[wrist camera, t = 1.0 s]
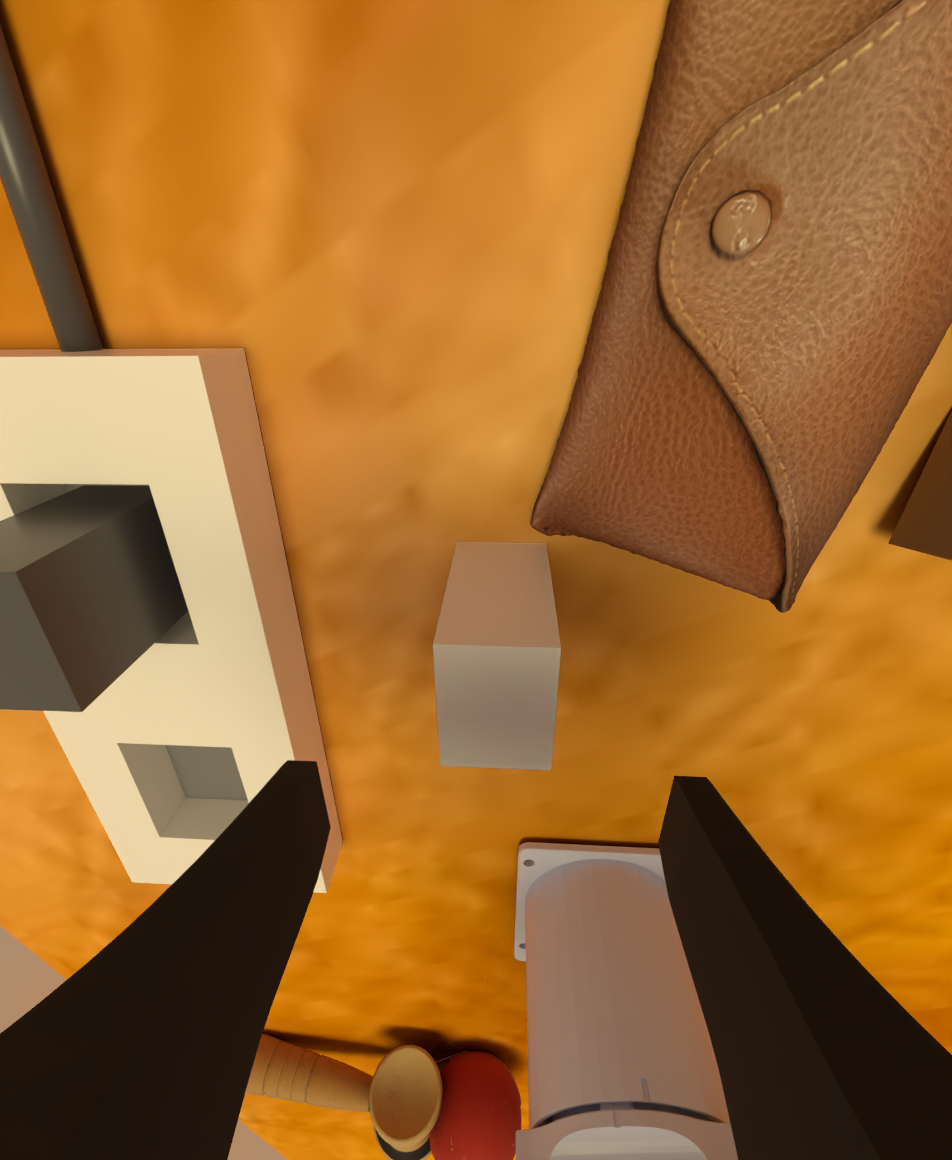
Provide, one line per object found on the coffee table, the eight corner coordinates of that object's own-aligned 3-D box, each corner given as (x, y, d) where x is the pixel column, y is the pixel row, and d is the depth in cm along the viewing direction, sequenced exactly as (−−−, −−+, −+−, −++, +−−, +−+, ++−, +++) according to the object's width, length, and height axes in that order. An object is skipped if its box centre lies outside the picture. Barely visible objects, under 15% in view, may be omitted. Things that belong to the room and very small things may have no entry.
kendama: (283, 1043, 39) (520, 1110, 36) (230, 1153, 33) (508, 1245, 30) (277, 968, 37) (530, 1034, 34) (219, 1073, 31) (519, 1163, 28)
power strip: (342, 841, 25) (293, 999, 20) (164, 832, 26) (65, 983, 20) (133, -202, 10) (-333, -824, 5) (-281, -173, 11) (-1158, -698, 5)
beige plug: (540, 642, 19) (551, 770, 14) (459, 639, 19) (439, 765, 14) (546, 542, 17) (561, 647, 12) (456, 541, 18) (432, 644, 12)
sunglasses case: (718, -411, 9) (1438, -1251, 4) (919, -176, 12) (1451, -468, 7) (520, 544, 17) (664, 666, 12) (669, 531, 21) (831, 623, 16)
